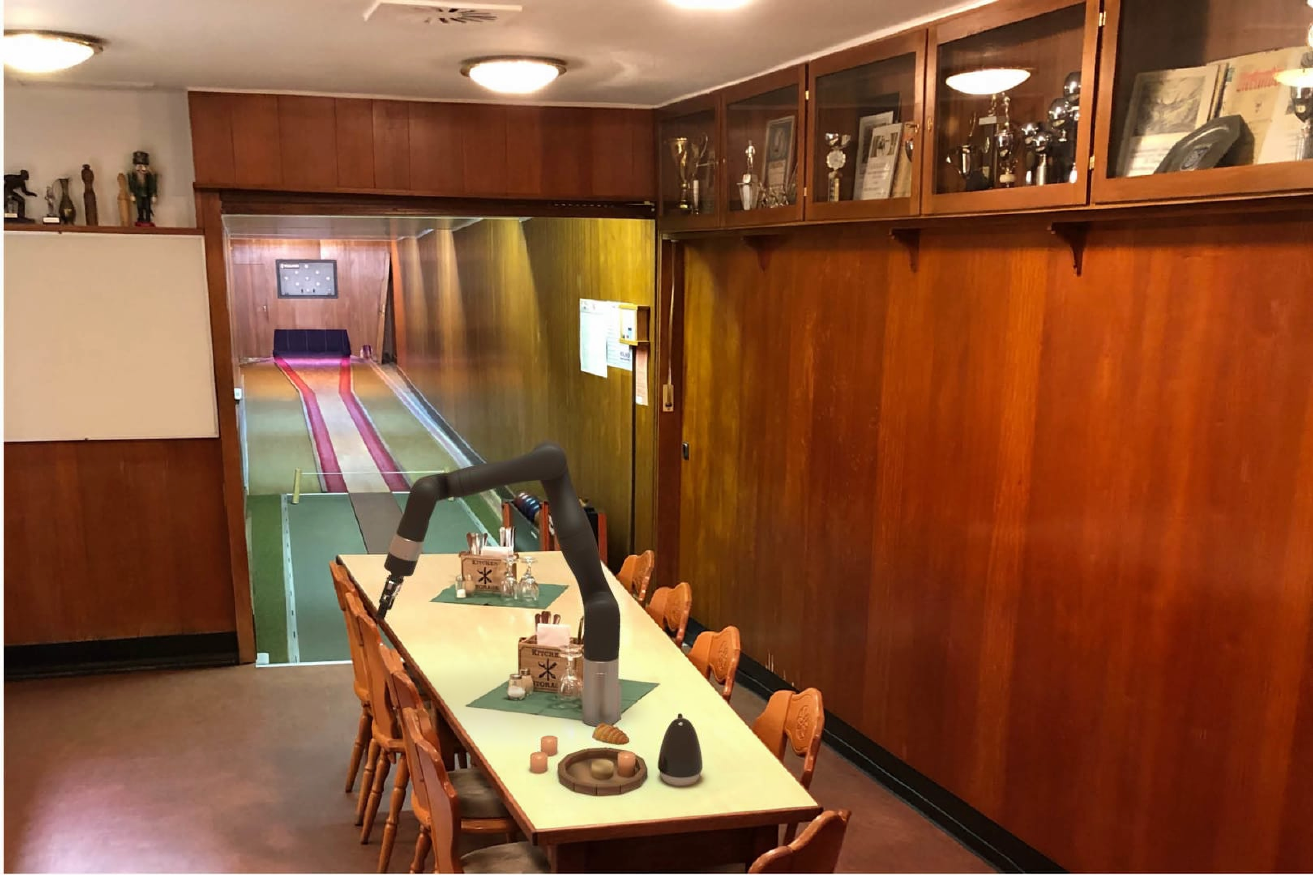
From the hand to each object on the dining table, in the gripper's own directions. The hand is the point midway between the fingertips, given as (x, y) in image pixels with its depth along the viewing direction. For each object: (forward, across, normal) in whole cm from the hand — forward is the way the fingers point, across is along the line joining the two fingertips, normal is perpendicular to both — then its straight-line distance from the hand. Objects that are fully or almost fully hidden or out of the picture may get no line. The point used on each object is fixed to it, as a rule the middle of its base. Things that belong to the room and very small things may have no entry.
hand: (383, 613), depth 259 cm
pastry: (+10, -10, -64) cm, 65 cm away
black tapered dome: (+5, -32, -79) cm, 85 cm away
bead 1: (+15, -27, -48) cm, 57 cm away
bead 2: (+14, -18, -50) cm, 55 cm away
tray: (+10, -30, -62) cm, 70 cm away
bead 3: (+8, -30, -67) cm, 73 cm away
